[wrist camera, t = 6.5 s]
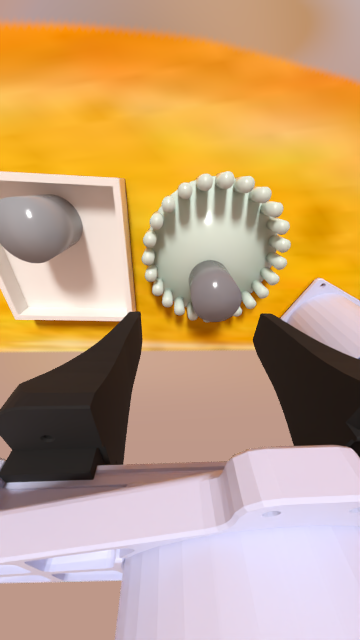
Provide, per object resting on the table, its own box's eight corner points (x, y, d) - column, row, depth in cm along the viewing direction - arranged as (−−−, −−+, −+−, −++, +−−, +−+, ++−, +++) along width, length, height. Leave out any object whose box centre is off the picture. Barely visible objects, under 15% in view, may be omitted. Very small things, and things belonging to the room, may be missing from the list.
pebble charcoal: (236, 271, 20) (251, 290, 16) (215, 303, 22) (224, 328, 18) (201, 252, 19) (208, 269, 15) (181, 288, 21) (183, 311, 17)
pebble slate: (87, 210, 17) (63, 217, 13) (77, 254, 18) (53, 272, 15) (33, 183, 15) (-11, 183, 12) (29, 234, 17) (-11, 247, 14)
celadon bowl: (296, 177, 16) (316, 176, 14) (257, 310, 23) (266, 323, 21) (141, 168, 16) (136, 166, 13) (147, 308, 22) (145, 321, 20)
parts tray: (124, 178, 16) (118, 178, 14) (136, 310, 23) (133, 321, 21) (-30, 170, 15) (-58, 168, 14) (28, 308, 22) (15, 319, 20)
